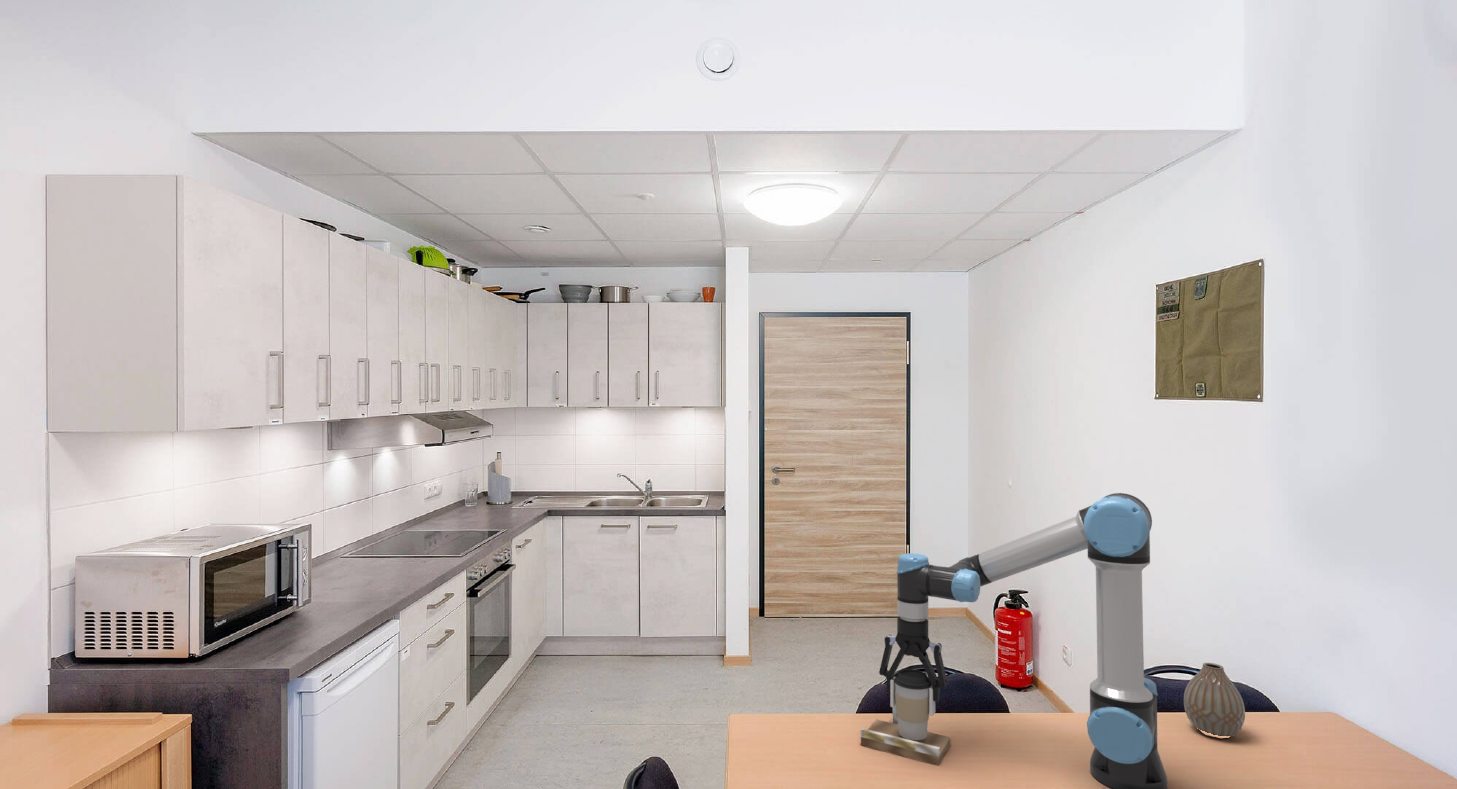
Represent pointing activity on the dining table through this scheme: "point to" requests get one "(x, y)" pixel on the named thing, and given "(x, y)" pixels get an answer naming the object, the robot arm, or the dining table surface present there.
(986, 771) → the dining table surface
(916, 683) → the coffee cup
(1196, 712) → the vase
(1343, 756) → the dining table surface
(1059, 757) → the dining table surface
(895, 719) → the tea tin
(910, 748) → the small brown box
